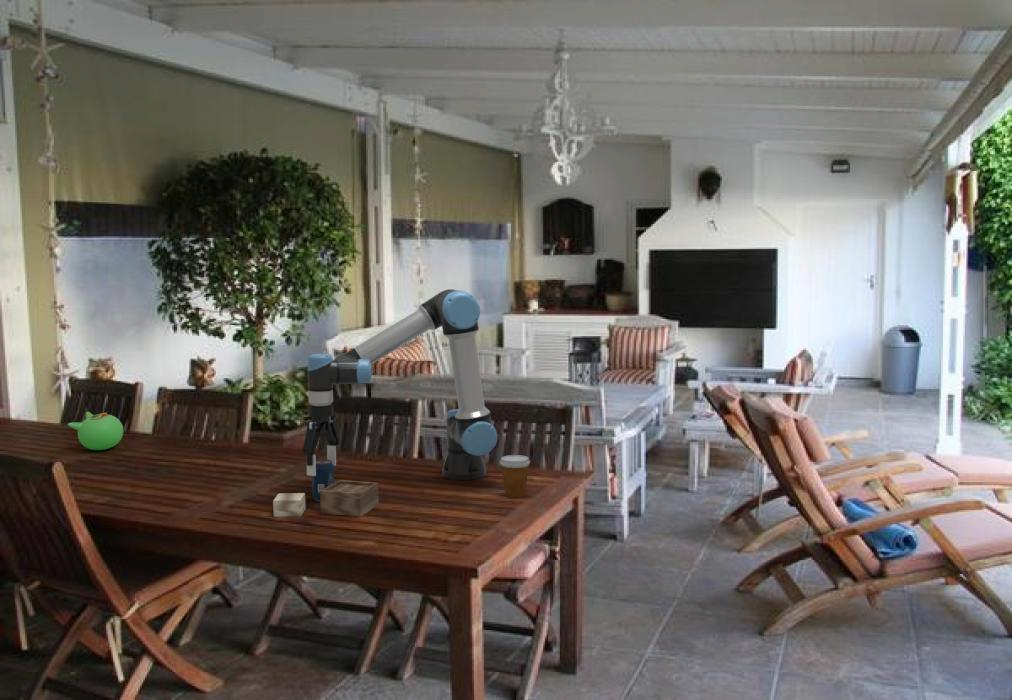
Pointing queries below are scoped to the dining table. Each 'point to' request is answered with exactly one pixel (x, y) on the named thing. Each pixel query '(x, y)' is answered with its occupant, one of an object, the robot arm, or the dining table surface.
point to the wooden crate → (349, 498)
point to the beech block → (289, 504)
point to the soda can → (322, 477)
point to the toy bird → (98, 431)
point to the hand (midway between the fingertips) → (321, 470)
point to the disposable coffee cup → (515, 474)
